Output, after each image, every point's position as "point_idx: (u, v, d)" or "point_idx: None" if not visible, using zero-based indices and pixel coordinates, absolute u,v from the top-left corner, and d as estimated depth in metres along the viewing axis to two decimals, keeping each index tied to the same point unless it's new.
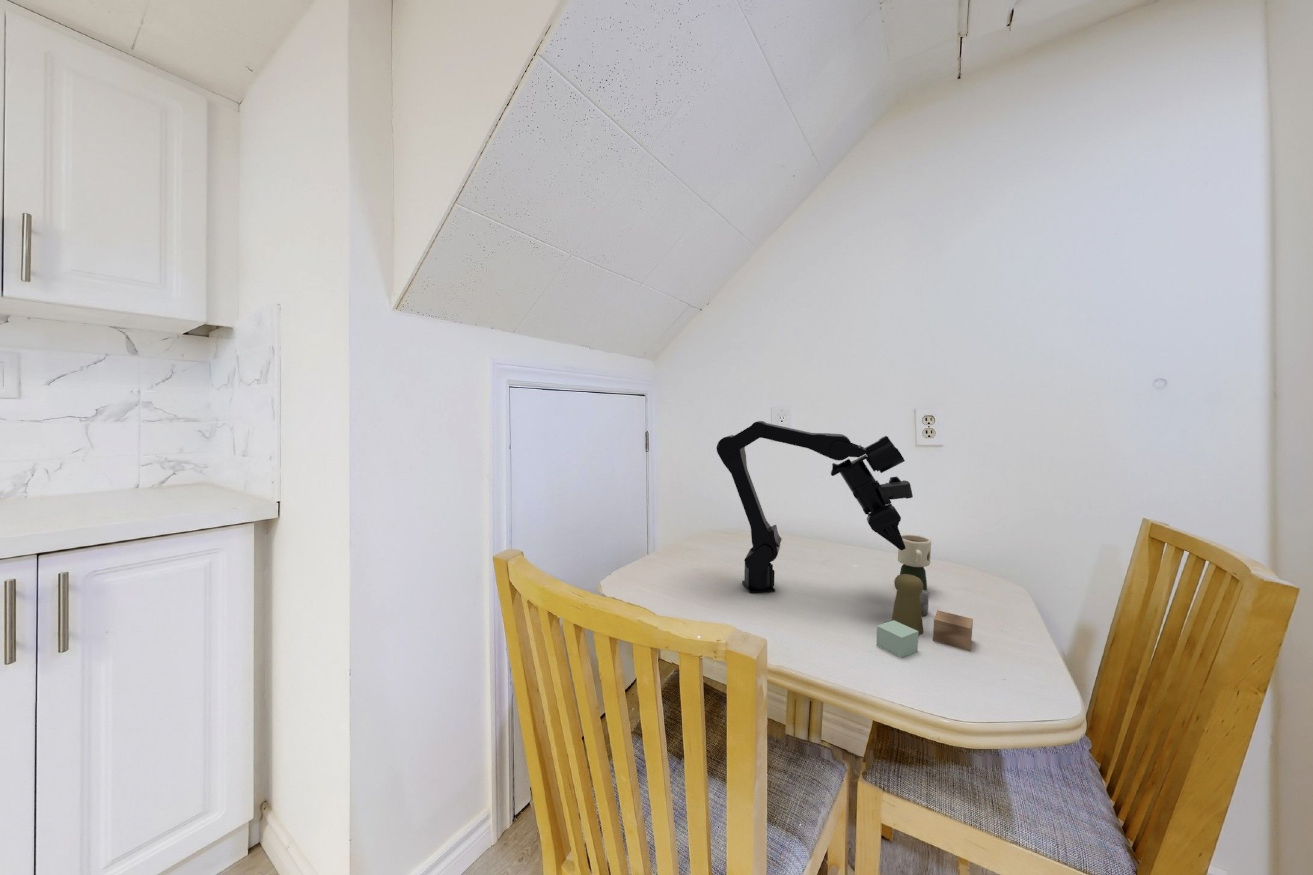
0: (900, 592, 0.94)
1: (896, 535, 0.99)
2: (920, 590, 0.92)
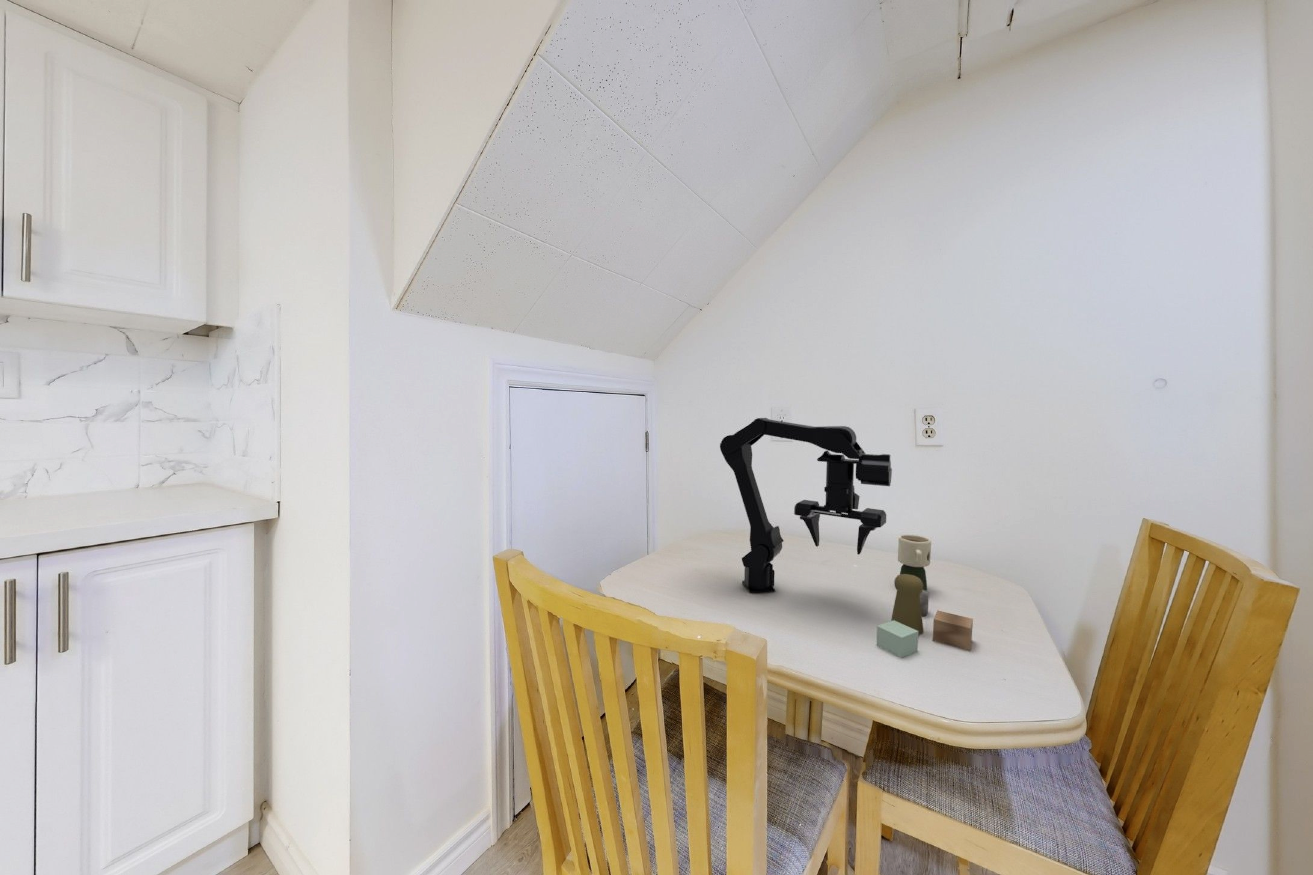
0: (900, 592, 0.94)
1: (865, 538, 1.01)
2: (920, 590, 0.92)
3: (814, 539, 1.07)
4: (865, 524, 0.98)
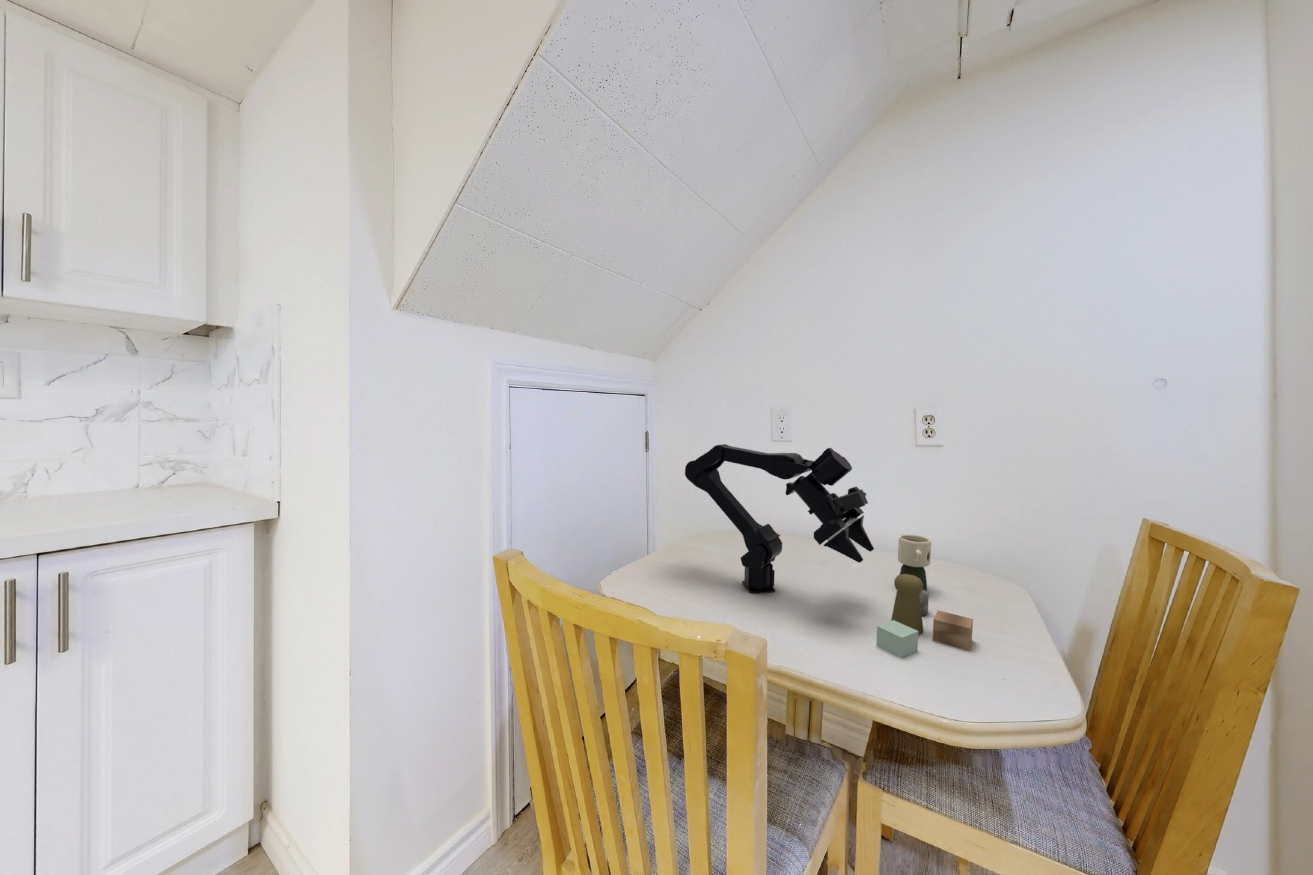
0: (900, 592, 0.94)
1: (848, 547, 0.96)
2: (920, 590, 0.92)
3: None
4: None
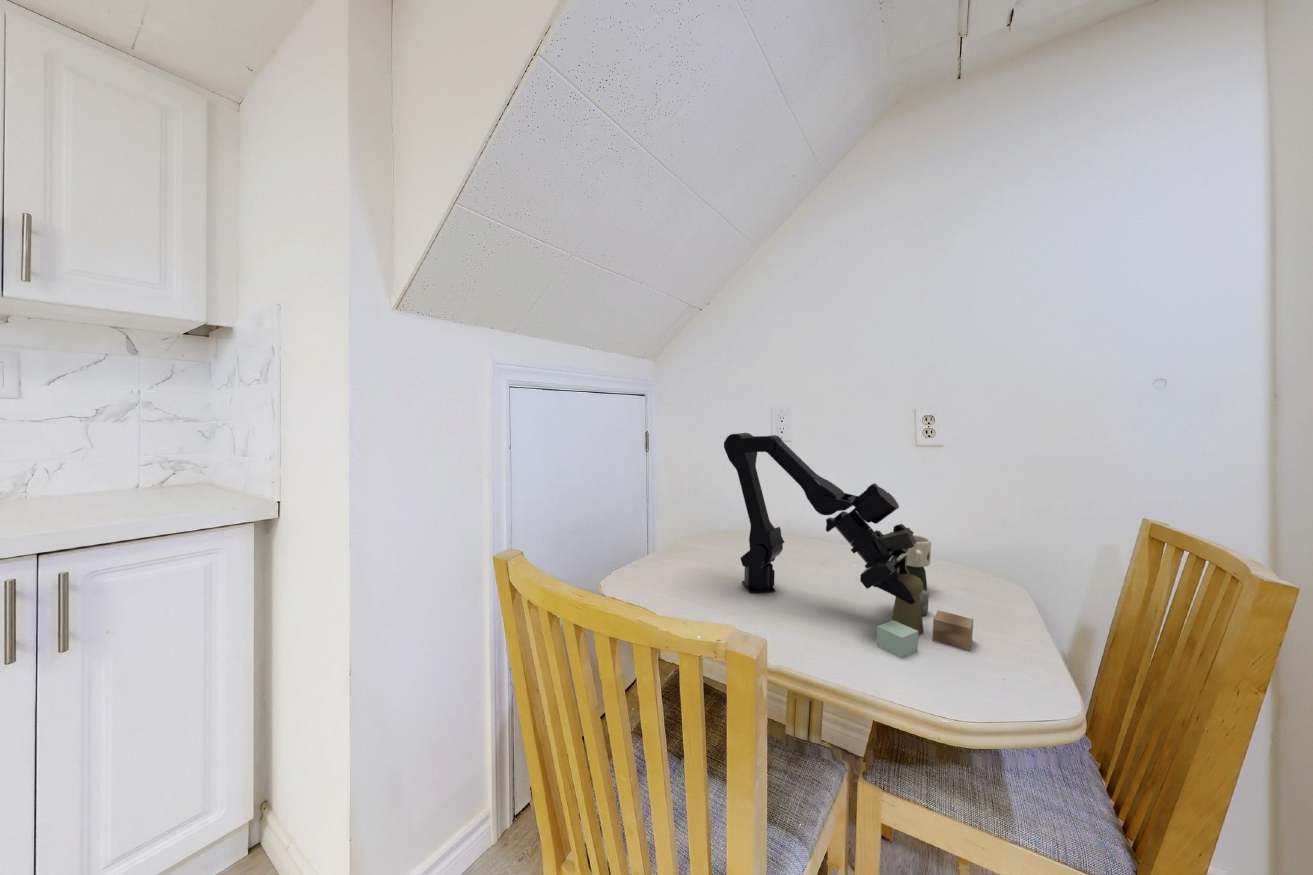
0: None
1: (900, 588, 0.92)
2: (920, 590, 0.92)
3: None
4: None
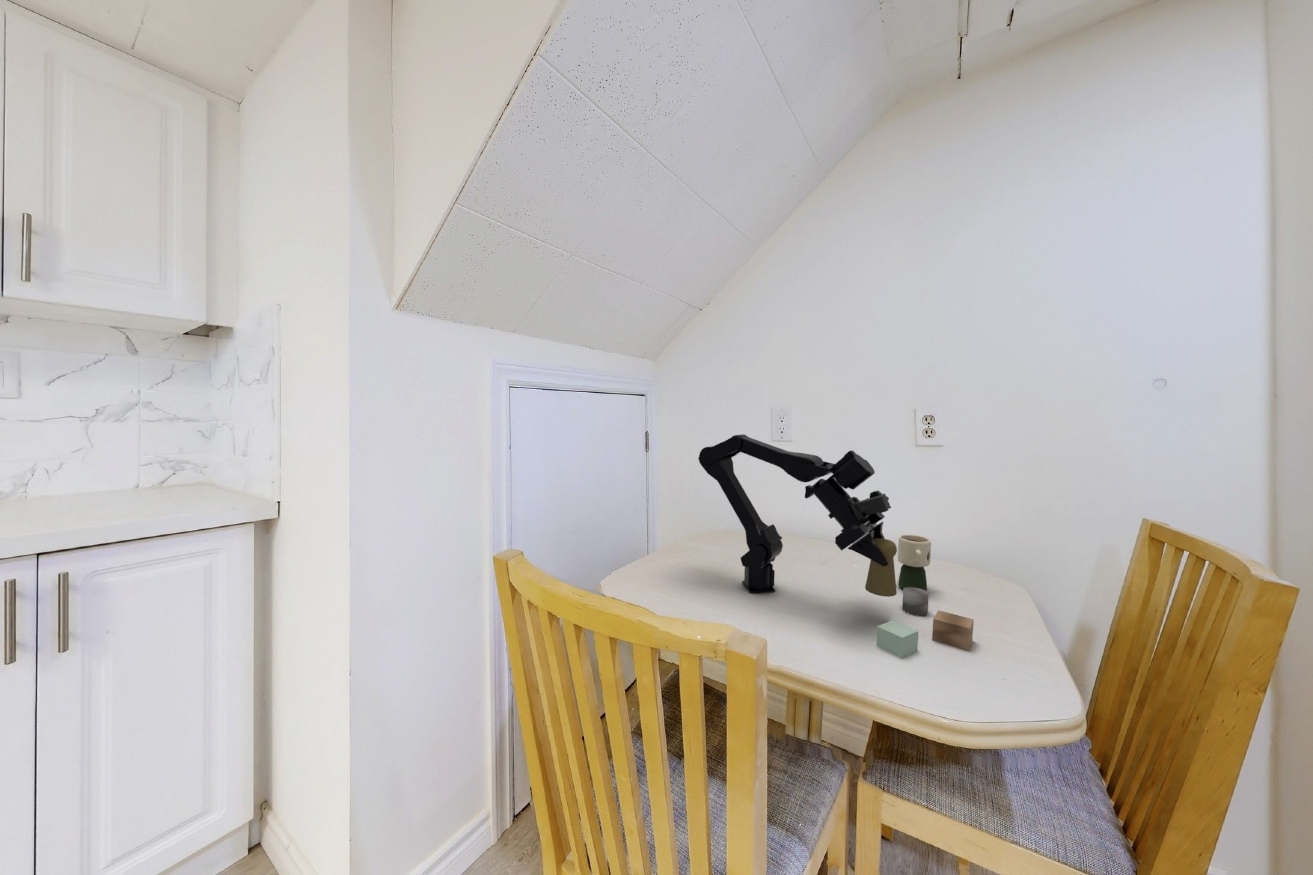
0: None
1: (874, 551, 0.95)
2: (893, 553, 0.95)
3: None
4: None
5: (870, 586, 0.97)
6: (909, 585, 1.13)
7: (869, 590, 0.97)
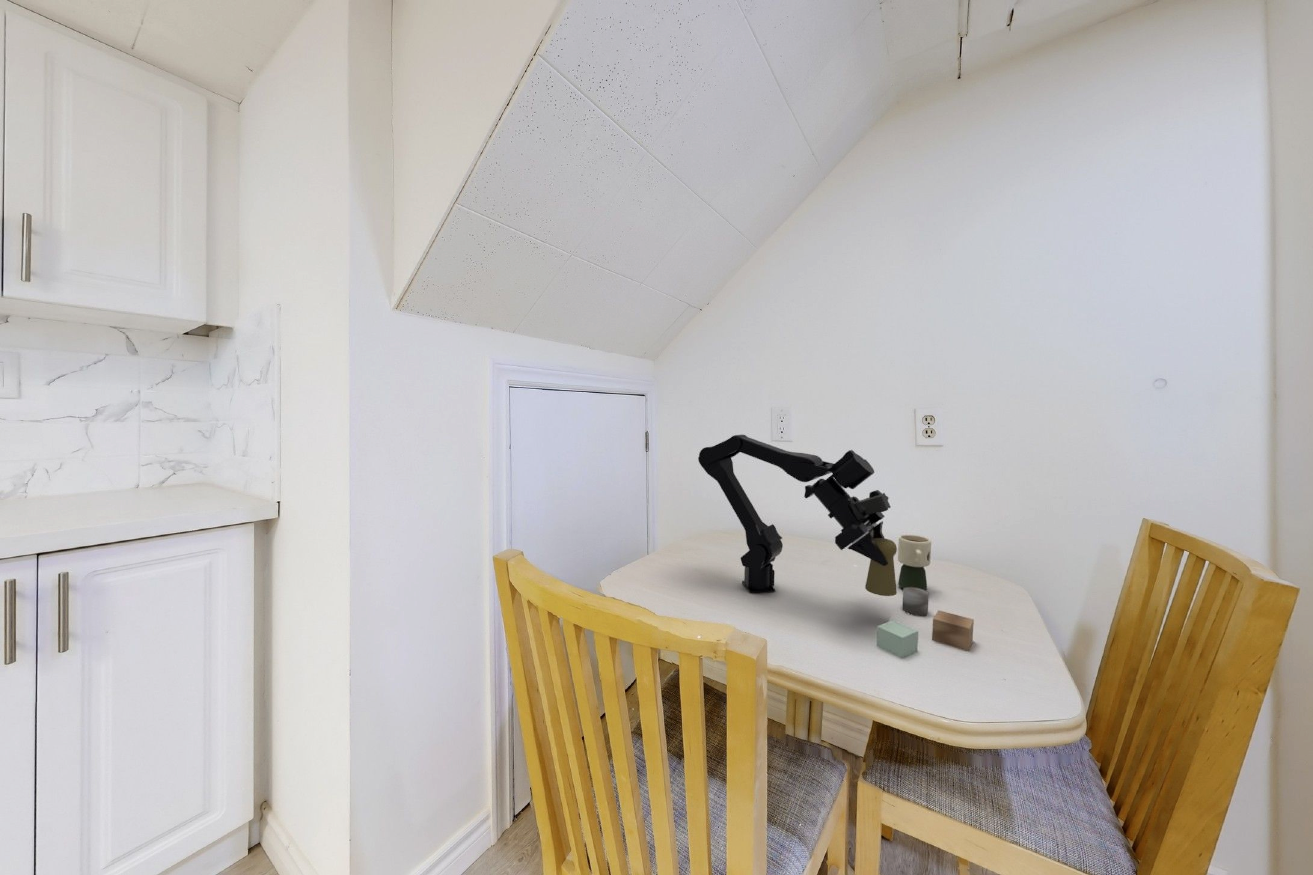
0: None
1: (873, 550, 0.95)
2: (893, 552, 0.95)
3: None
4: None
5: (870, 586, 0.97)
6: (909, 585, 1.13)
7: (869, 590, 0.97)
